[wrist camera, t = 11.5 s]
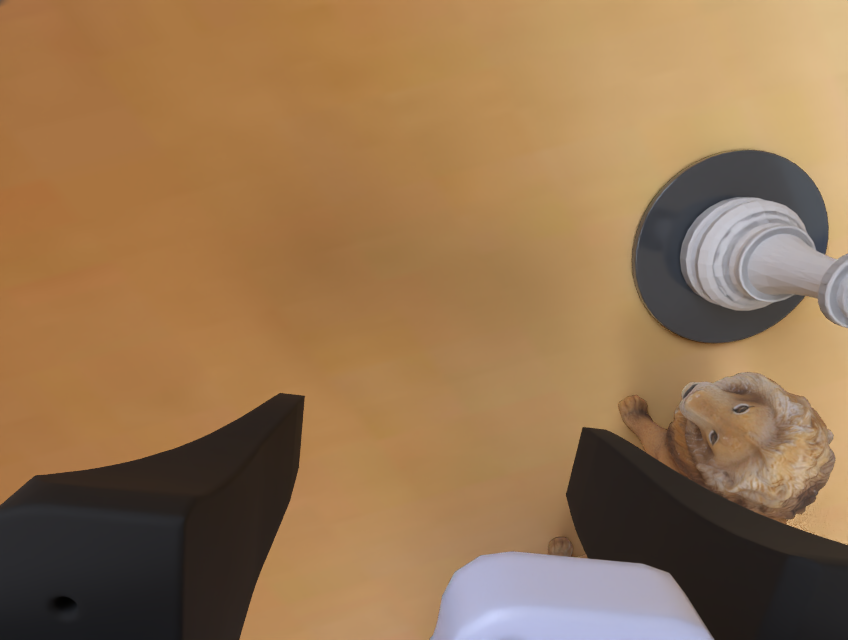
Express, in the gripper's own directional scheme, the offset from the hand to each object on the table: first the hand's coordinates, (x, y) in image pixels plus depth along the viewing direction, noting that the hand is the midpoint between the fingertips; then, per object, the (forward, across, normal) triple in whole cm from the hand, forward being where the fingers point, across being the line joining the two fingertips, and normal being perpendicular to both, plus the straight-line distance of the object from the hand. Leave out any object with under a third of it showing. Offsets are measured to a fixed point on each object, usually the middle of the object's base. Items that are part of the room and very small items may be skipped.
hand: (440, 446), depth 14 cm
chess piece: (+10, -12, -5) cm, 16 cm away
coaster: (+10, -12, -5) cm, 16 cm away
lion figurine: (+10, -10, +5) cm, 15 cm away
